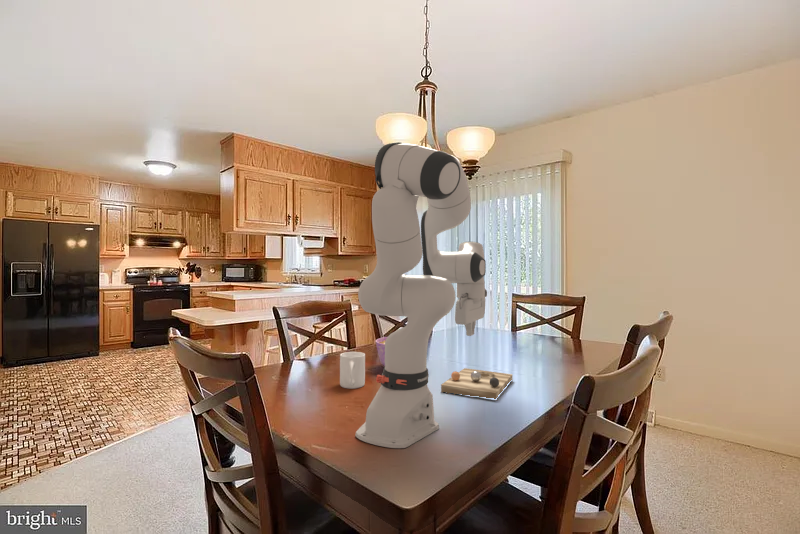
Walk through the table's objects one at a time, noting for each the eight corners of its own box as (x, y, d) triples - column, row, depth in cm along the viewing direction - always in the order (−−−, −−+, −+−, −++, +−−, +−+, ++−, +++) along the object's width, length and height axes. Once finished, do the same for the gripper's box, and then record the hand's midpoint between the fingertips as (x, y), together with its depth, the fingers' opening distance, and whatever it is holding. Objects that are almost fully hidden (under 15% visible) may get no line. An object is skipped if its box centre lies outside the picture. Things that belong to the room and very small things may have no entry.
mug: (337, 392, 129) (337, 359, 129) (341, 381, 141) (341, 351, 141) (363, 392, 130) (363, 359, 130) (365, 381, 142) (365, 351, 142)
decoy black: (497, 388, 126) (497, 379, 126) (488, 387, 127) (488, 378, 127) (500, 386, 129) (500, 377, 129) (490, 384, 130) (491, 375, 130)
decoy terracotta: (458, 382, 133) (458, 373, 133) (449, 380, 135) (449, 371, 135) (461, 379, 136) (461, 371, 136) (452, 378, 137) (453, 369, 137)
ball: (479, 383, 132) (479, 373, 132) (469, 382, 133) (469, 371, 133) (482, 380, 135) (482, 370, 135) (472, 379, 136) (472, 369, 136)
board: (495, 401, 122) (495, 393, 122) (441, 392, 130) (441, 384, 130) (512, 381, 143) (512, 374, 143) (464, 374, 151) (464, 368, 151)
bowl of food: (426, 364, 168) (426, 336, 167) (424, 377, 148) (424, 346, 148) (379, 362, 169) (379, 335, 169) (371, 375, 150) (371, 344, 150)
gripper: (470, 294, 117) (469, 341, 117) (488, 291, 136) (488, 331, 136) (450, 293, 120) (449, 339, 120) (470, 290, 138) (470, 330, 138)
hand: (470, 335), depth 128 cm, fingers closed
